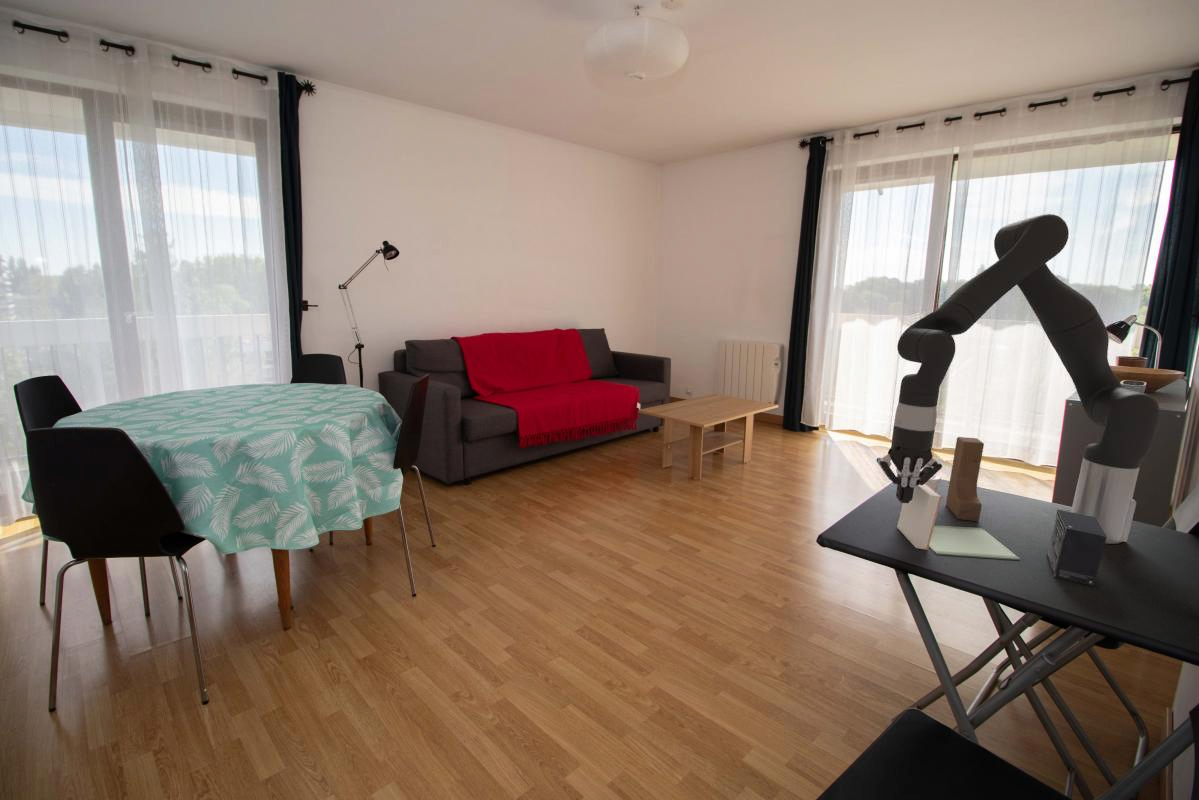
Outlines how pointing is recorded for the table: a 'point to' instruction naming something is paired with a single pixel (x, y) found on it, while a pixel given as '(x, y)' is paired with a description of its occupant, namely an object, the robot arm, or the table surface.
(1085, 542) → the small box
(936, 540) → the mat
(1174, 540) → the table surface
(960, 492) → the wooden block
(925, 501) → the tile
